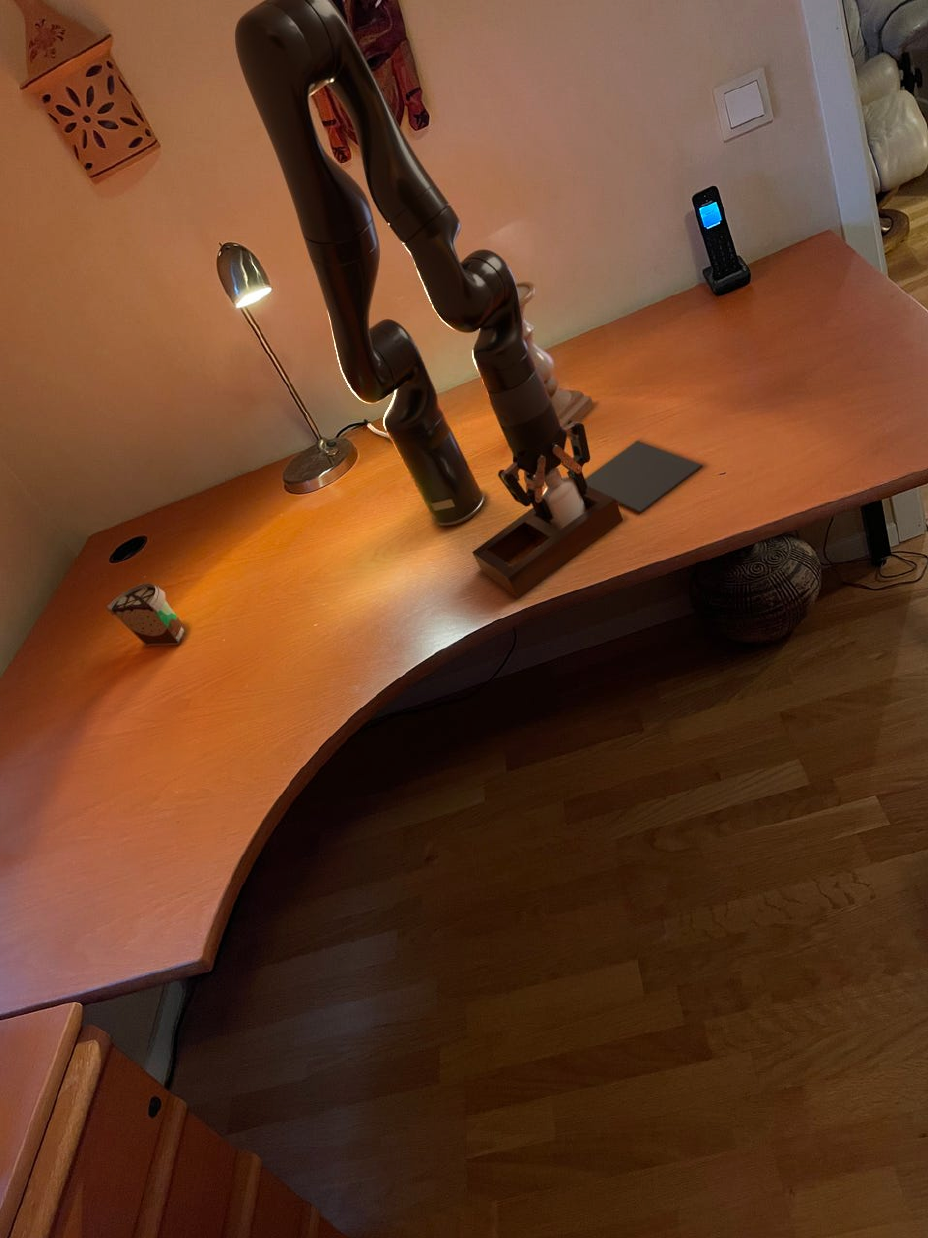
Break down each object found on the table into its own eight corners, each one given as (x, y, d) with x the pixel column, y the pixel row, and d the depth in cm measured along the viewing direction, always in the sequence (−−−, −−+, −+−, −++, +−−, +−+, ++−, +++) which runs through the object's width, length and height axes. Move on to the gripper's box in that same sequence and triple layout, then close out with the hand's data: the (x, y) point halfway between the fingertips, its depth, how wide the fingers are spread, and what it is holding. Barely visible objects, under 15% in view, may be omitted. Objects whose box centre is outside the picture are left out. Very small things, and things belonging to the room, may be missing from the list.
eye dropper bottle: (596, 528, 121) (569, 461, 114) (560, 545, 122) (532, 479, 114) (587, 514, 124) (560, 448, 117) (553, 530, 125) (524, 465, 118)
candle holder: (550, 401, 156) (503, 281, 141) (595, 404, 148) (549, 277, 133) (514, 436, 152) (461, 316, 137) (558, 441, 144) (507, 314, 130)
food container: (204, 619, 150) (171, 578, 144) (186, 644, 146) (150, 603, 140) (160, 621, 156) (126, 583, 150) (140, 645, 152) (105, 607, 146)
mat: (580, 484, 131) (579, 482, 131) (637, 442, 133) (637, 440, 133) (640, 513, 119) (639, 511, 119) (702, 466, 121) (702, 464, 121)
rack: (482, 572, 125) (471, 552, 122) (580, 498, 128) (572, 478, 126) (518, 599, 117) (508, 578, 114) (623, 520, 120) (615, 498, 117)
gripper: (549, 372, 115) (587, 471, 125) (466, 430, 112) (512, 526, 122) (580, 382, 109) (617, 485, 119) (494, 443, 106) (539, 543, 116)
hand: (564, 505), depth 120 cm, fingers closed on eye dropper bottle, 5 cm apart
